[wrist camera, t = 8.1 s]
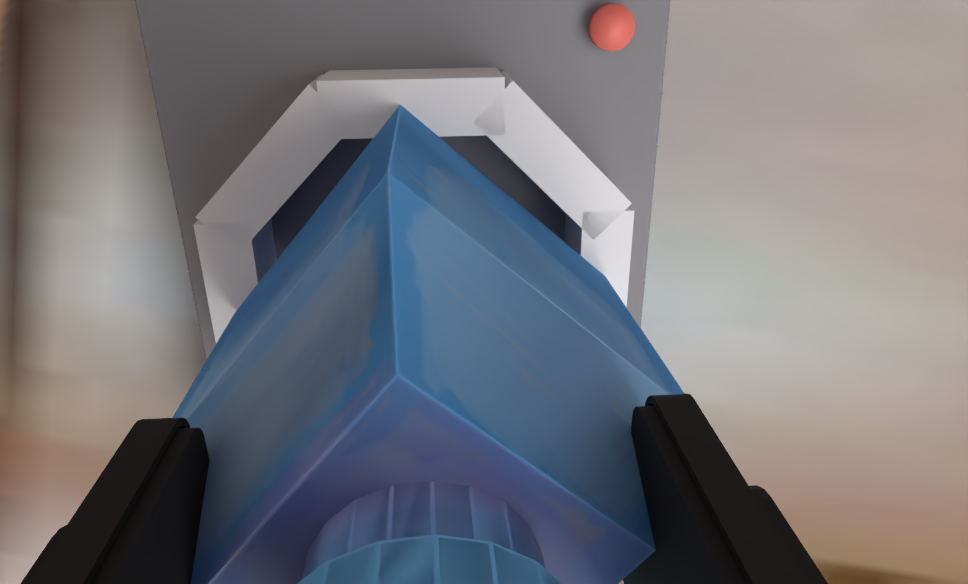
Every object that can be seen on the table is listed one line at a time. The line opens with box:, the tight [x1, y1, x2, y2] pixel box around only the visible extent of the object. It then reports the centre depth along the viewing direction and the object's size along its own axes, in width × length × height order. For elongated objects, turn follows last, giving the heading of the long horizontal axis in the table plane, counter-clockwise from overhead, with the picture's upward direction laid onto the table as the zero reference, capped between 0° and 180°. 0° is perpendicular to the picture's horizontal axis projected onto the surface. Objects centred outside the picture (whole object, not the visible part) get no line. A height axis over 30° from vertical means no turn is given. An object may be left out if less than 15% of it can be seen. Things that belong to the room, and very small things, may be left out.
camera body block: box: [135, 0, 670, 360], centre depth 19 cm, size 14×12×5 cm
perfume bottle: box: [173, 105, 684, 584], centre depth 11 cm, size 6×6×12 cm
